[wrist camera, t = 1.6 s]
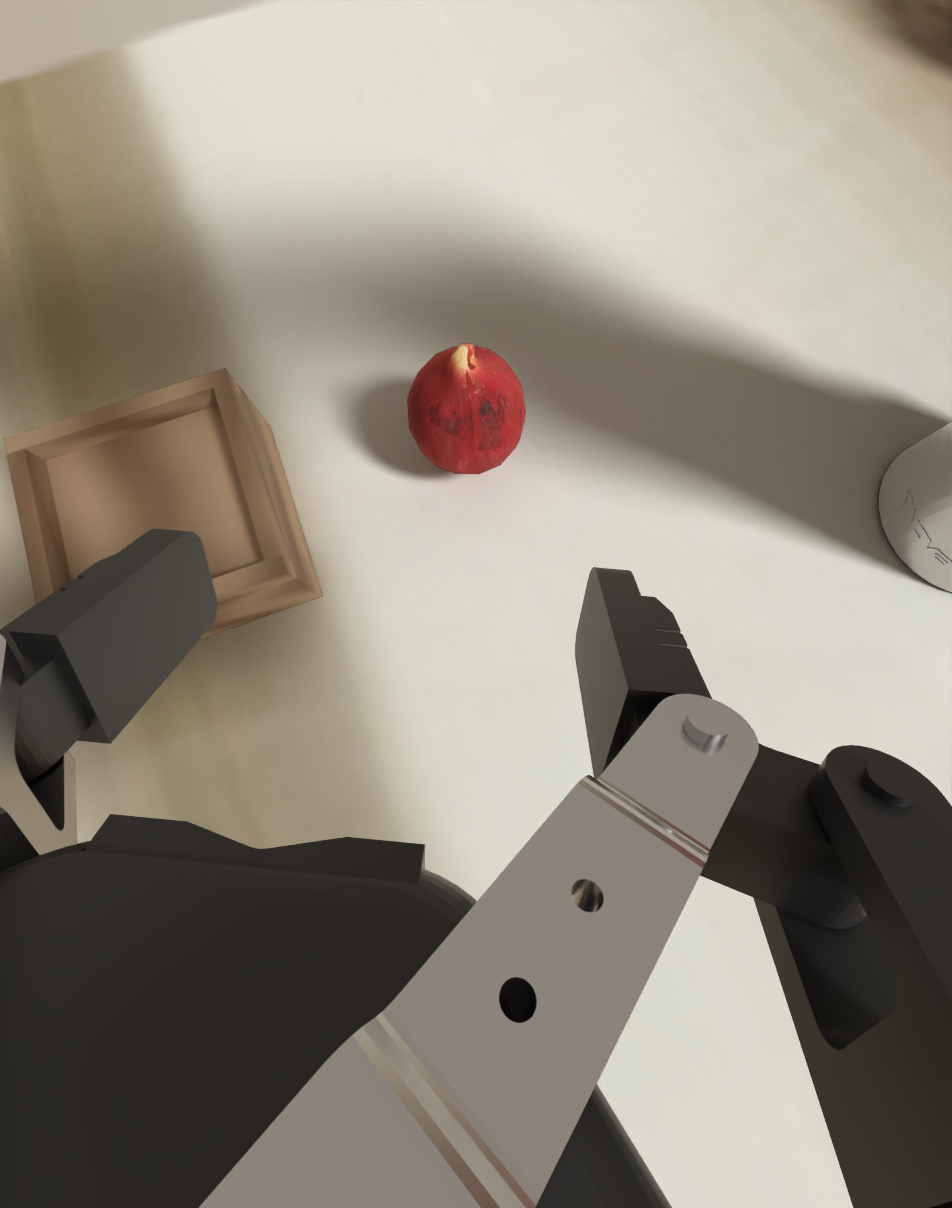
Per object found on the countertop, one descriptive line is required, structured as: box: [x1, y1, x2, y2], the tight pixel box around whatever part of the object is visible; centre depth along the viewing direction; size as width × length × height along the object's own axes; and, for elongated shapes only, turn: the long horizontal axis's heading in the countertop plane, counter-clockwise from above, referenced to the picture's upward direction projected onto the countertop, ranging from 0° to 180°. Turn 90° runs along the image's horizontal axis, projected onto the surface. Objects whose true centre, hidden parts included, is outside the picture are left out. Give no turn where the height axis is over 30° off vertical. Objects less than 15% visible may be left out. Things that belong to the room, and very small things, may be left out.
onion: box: [407, 343, 525, 474], centre depth 25 cm, size 6×6×8 cm
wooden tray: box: [4, 368, 323, 639], centre depth 25 cm, size 11×11×5 cm
